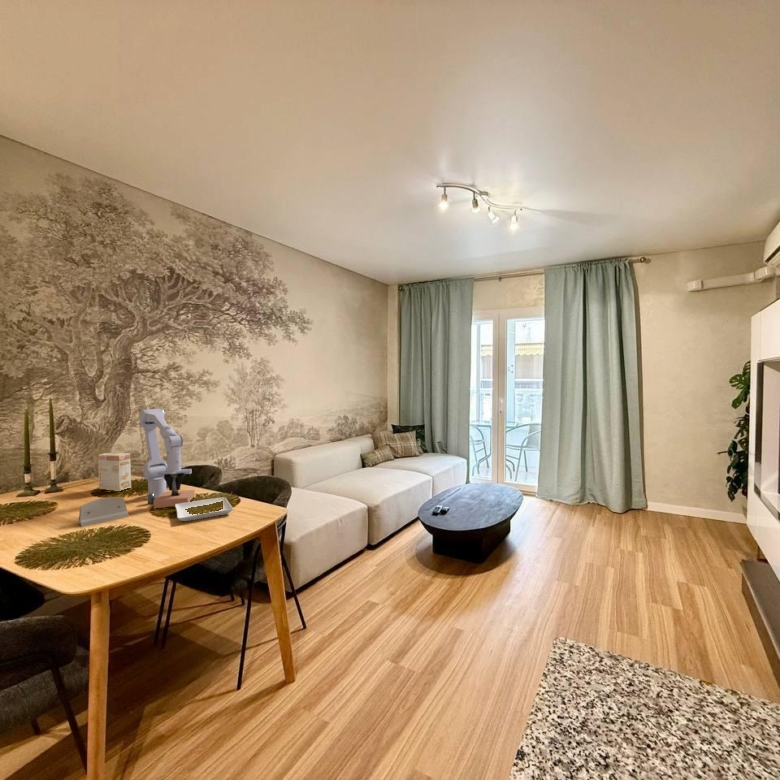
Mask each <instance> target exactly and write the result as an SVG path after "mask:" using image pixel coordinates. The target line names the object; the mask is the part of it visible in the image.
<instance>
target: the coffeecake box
mask: <svg viewBox="0 0 780 780" xmlns="http://www.w3.org/2000/svg"><path fill="white" fill-rule="evenodd" d="M97 456H98V457H97V458H98V459H97V461H98V485H99V486H98V490H99V489H106V490H114V491H121V490H124V489H127V488H131V489H132V471H131V469H132V467H131V466H132V465H131V464H132V463H131V453H129V452H128V453H127V452H126V453H125V452H104V453H100V454H97Z"/></svg>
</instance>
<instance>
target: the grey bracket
mask: <svg viewBox="0 0 780 780" xmlns="http://www.w3.org/2000/svg"><path fill="white" fill-rule="evenodd" d="M124 518H129V512H128V509H127V504H126V501H125V499H124V498H123V497H113V496H111V497H102V498H97V499H94V500H91V501H88V502H86V503H84V504H82V505H80V507H79V517H78V525H80V527H81V528H85V527H88V526H93V525H97V524H102V523H107V522H111V521H114V520H120V519H124Z"/></svg>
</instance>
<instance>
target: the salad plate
mask: <svg viewBox="0 0 780 780" xmlns="http://www.w3.org/2000/svg"><path fill="white" fill-rule="evenodd" d="M221 501H223V509H221V510H219V511H215V512H209V513H203V514H198V515H197V514H193V515H192V514H189V512H187V510H185V509H188V508H191V507H197V506H203V505H209V504H213V503H216V502H221ZM175 509H176V518H177V519H178V520H179V521H181V522H191V520H193V521H197V519H199V520H204V519H209V518H208V517H210V518H215V517H220V516H219V515H221V516H224V515H228V514H230V513H231V512H233V510H234V508H233V506H232V505H231V504H230V502H229V500H228V498H226V496H225V497H224V496H222V497H215V498H214V497H213V498H209V499H207V498H206V499H201V500H193V501H192V502H186V503H179V504H175ZM214 516H215V517H214ZM203 518H204V519H203Z"/></svg>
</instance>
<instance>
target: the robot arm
mask: <svg viewBox="0 0 780 780" xmlns="http://www.w3.org/2000/svg"><path fill="white" fill-rule="evenodd" d="M165 414H166V413H165V410H164V409H163V408H161V407H160V408H150V409H143V408H142V409H141V410H140V411H139V415H138V420H139V424H140V427H141V428H143V429H144V435H145V442H146V448H147V453H148V454H147V455H148V456H147V457H148V461H147V462H146V463H145V464H144V465H143V478H144V479H145V480H147V486H148V487H147V490H148V491H147V493H148V494H151V493H154V499H156V498H157V497H158V496H159V495H160V494H161V493H163V492H171V477H173V476H177V490H178V491H181V486H182V482H183V479H184V477H185V475H187V474H188V475H191V474H192V468H182V455H181V453H182V452H181V448H182V447H183V445H184V444H183V443H184V439H183V436H182V435H181V434H178V433H176V431H175V430H174V428H173V427H172V426H171V425H168V424H167V422H166V420H165ZM157 428H158V429H159V435H160V436H161V438H162V439H163V445H164V449H165V452H166V460H164V459H163V458H161V452H160V446H159V440H158V435H157ZM167 487H168V491H167ZM145 500H148V497H147V496H146V497H145Z"/></svg>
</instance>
